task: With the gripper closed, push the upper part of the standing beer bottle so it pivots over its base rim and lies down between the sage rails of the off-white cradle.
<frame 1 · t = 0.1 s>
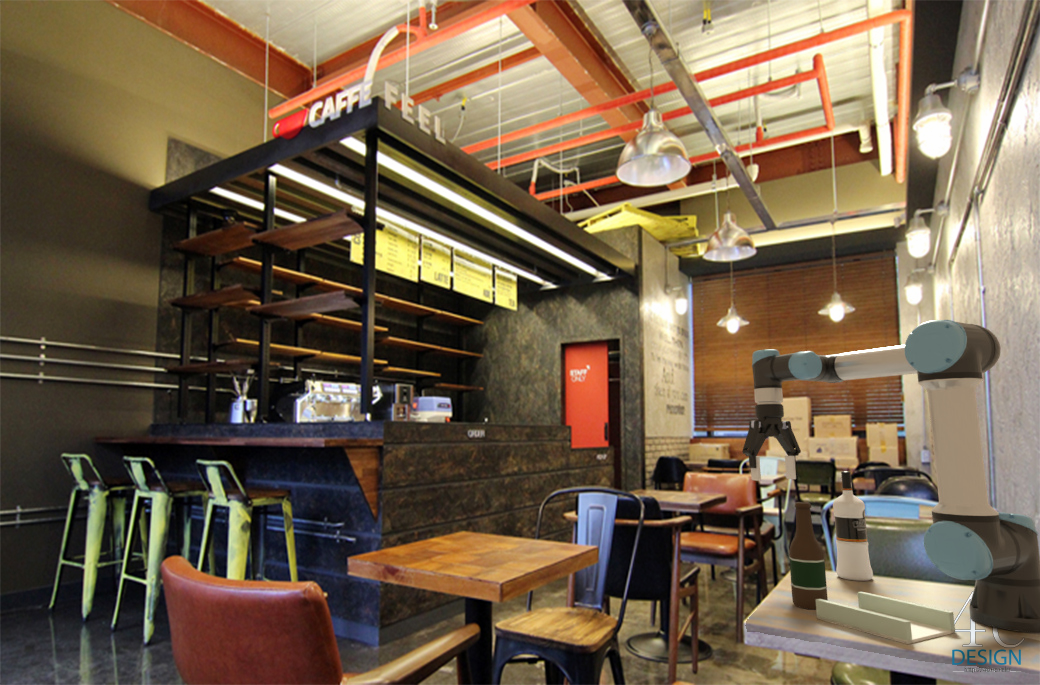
hand: (774, 479, 175), 28 cm above the table, tool pointing down, fingers open, 13 cm apart
rest: (883, 625, 133), on the table
vodka: (854, 578, 179), on the table
beer bottle: (810, 606, 148), on the table
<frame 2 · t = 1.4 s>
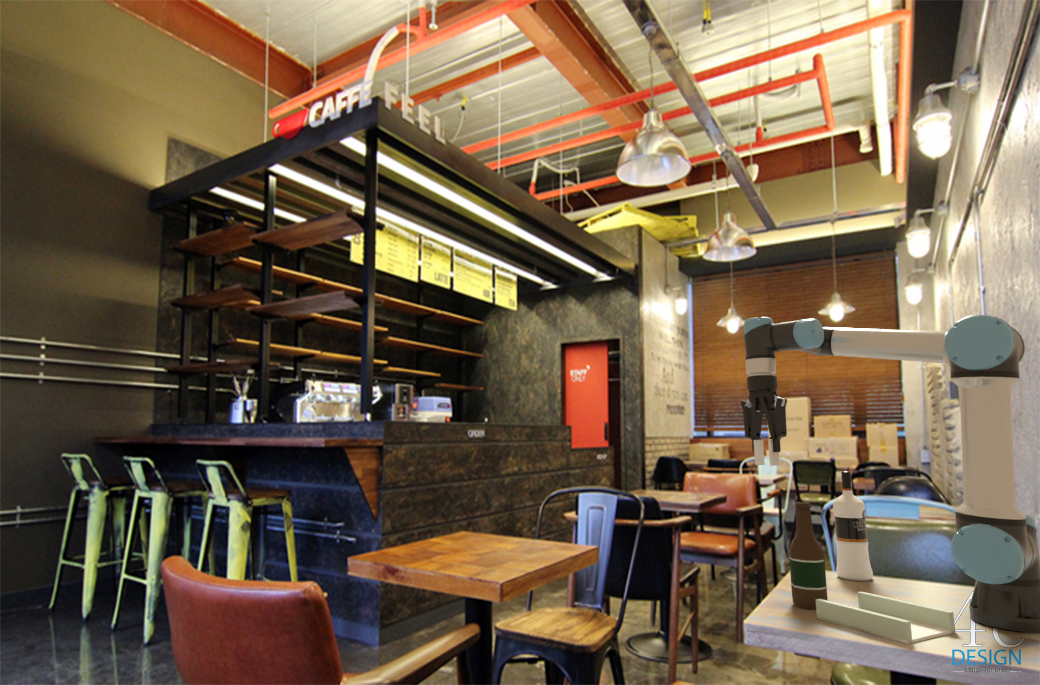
hand: (767, 464, 162), 33 cm above the table, tool pointing down, fingers open, 4 cm apart
nothing on the table moved.
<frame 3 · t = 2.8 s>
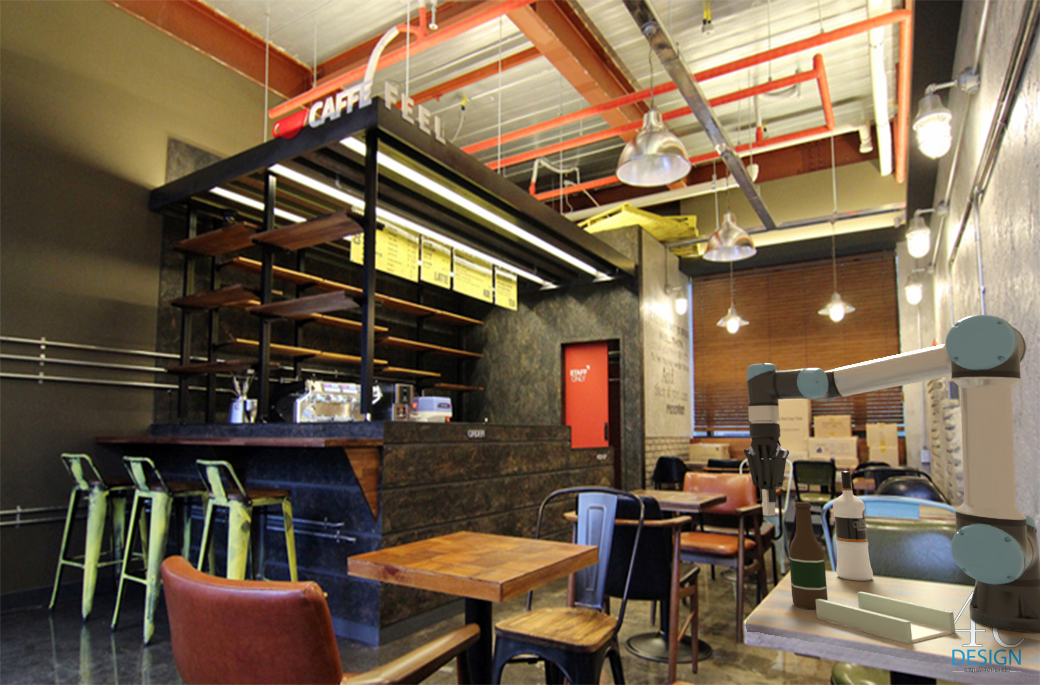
hand: (769, 515, 161), 20 cm above the table, tool pointing down, fingers closed
nothing on the table moved.
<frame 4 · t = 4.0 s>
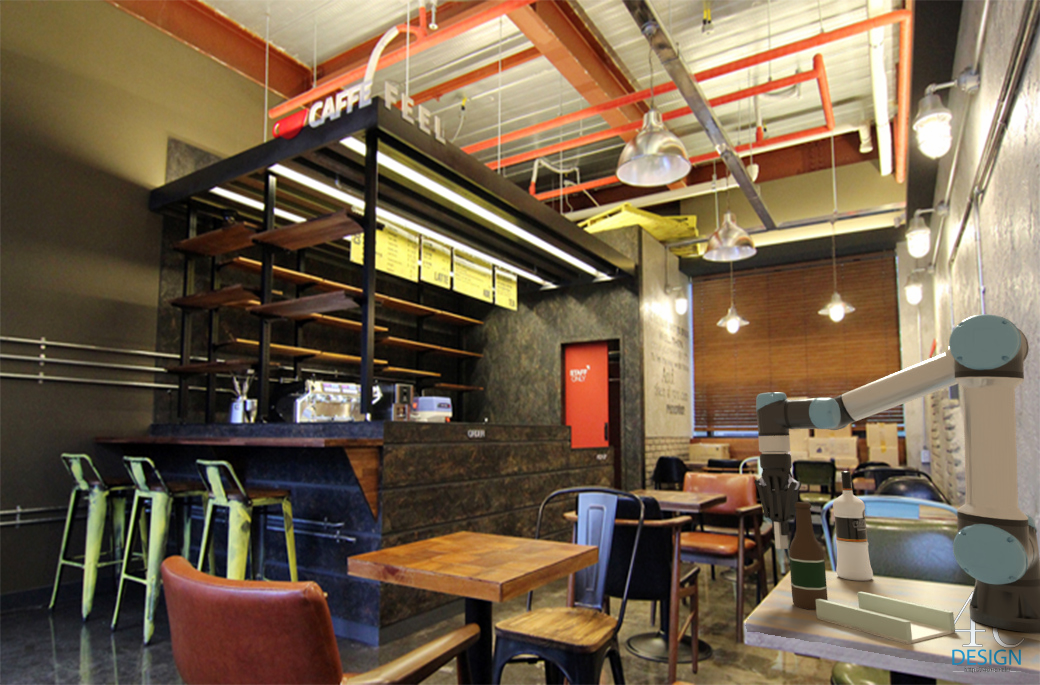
hand: (781, 548, 157), 12 cm above the table, tool pointing down, fingers closed
nothing on the table moved.
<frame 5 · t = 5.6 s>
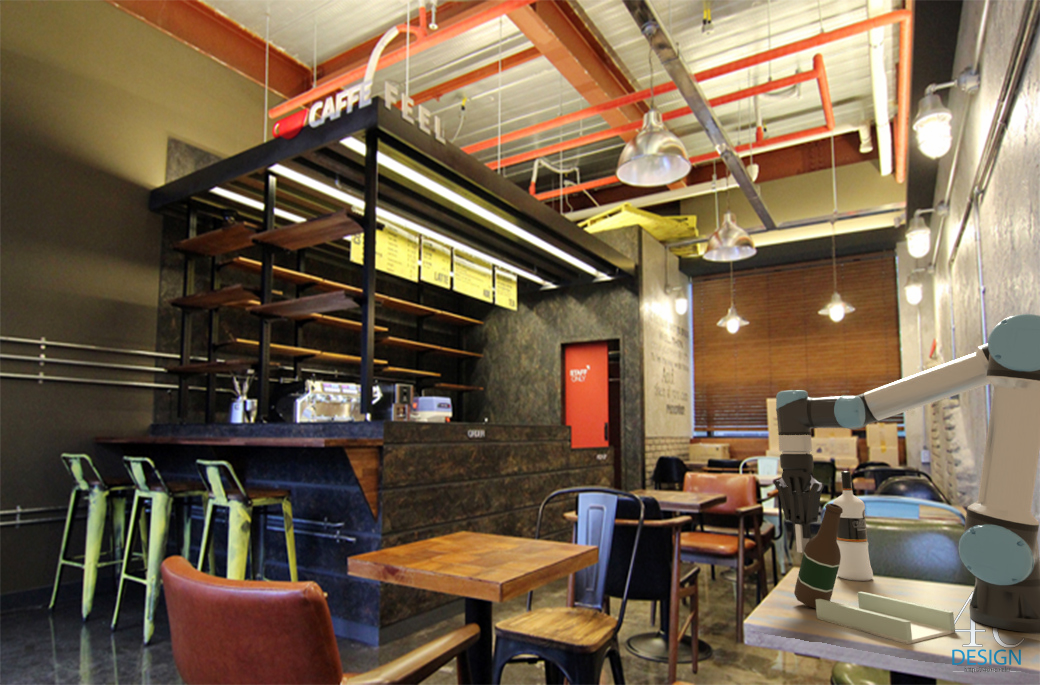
hand: (803, 551, 151), 12 cm above the table, tool pointing down, fingers closed
beer bottle: (810, 601, 148), point 1 cm above the table, touching gripper
everything else where it was.
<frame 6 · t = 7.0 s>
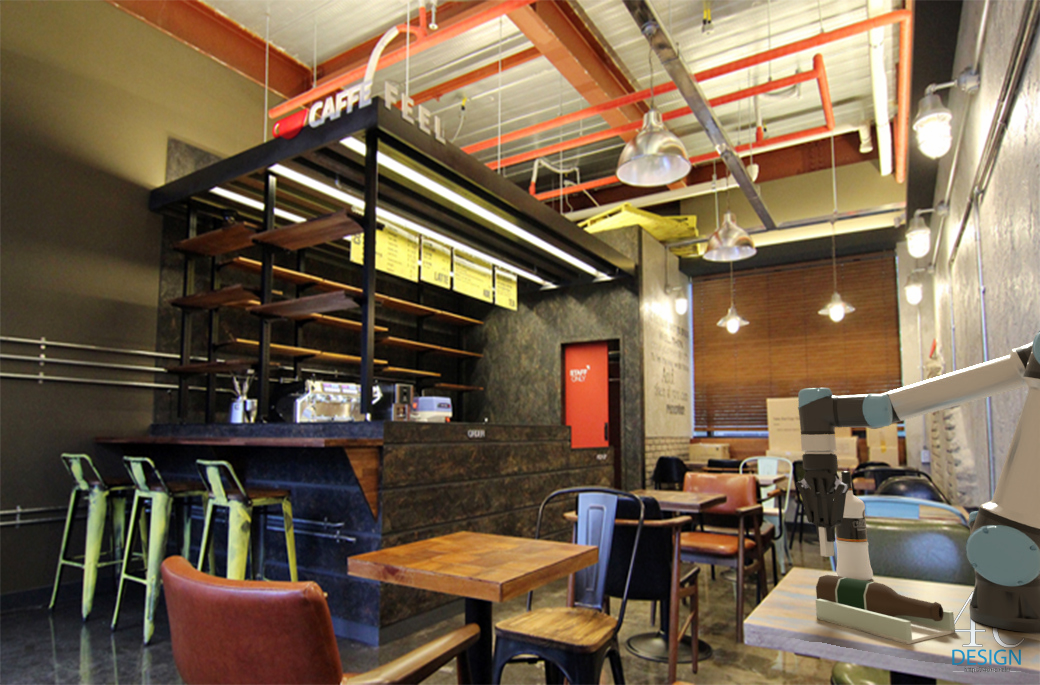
hand: (827, 555, 145), 12 cm above the table, tool pointing down, fingers closed
beer bottle: (822, 591, 145), point 4 cm above the table, touching rest
everything else where it was.
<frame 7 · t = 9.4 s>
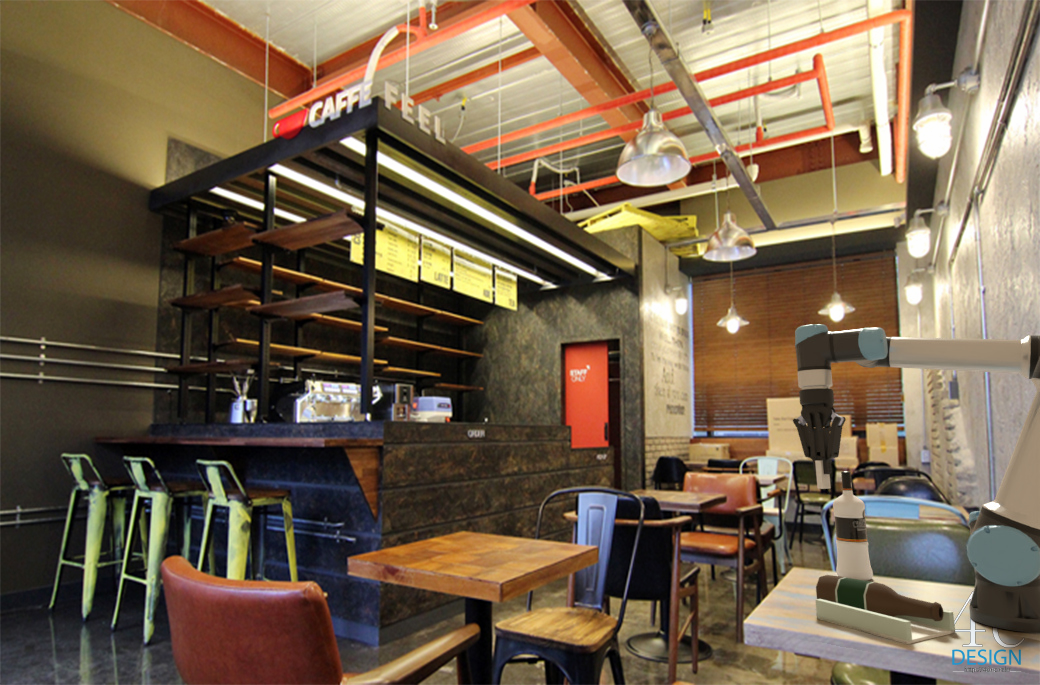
hand: (824, 488, 147), 28 cm above the table, tool pointing down, fingers closed
nothing on the table moved.
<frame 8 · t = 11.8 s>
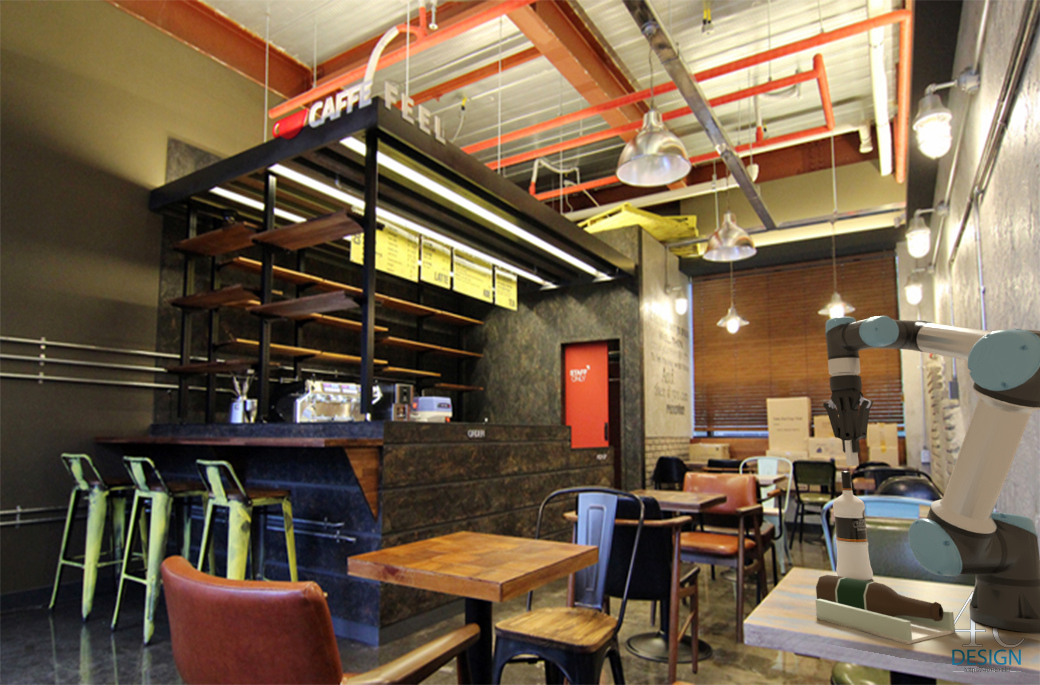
hand: (852, 465, 163), 32 cm above the table, tool pointing down, fingers closed
nothing on the table moved.
at the end: beer bottle tilted 90°; beer bottle inside the target area on the table beside the rest (0.3 cm from its centre), point 4.2 cm above the table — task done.
